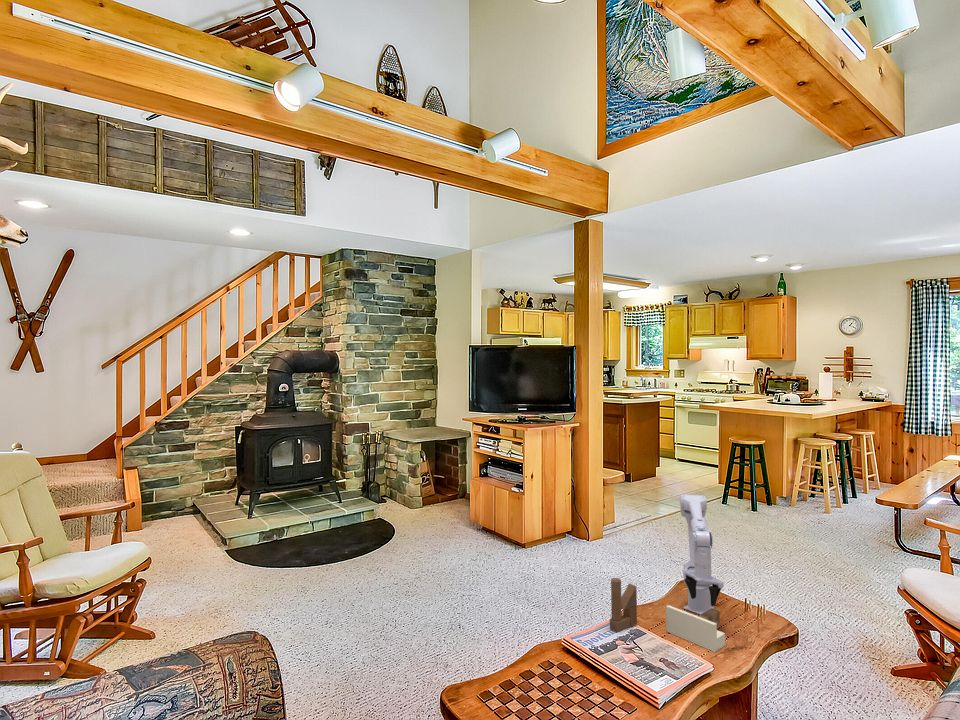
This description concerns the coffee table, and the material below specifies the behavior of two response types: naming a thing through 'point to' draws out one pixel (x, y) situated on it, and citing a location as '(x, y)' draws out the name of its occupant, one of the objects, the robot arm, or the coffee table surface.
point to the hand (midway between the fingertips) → (703, 601)
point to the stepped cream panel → (694, 629)
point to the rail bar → (712, 616)
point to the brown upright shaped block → (623, 606)
